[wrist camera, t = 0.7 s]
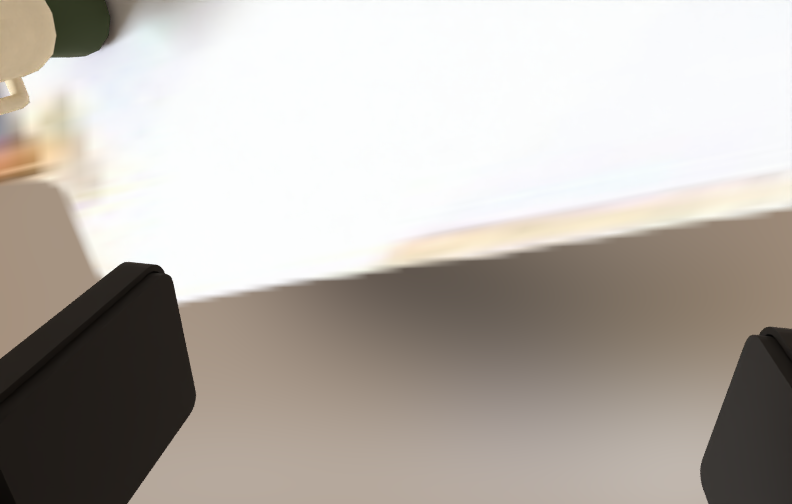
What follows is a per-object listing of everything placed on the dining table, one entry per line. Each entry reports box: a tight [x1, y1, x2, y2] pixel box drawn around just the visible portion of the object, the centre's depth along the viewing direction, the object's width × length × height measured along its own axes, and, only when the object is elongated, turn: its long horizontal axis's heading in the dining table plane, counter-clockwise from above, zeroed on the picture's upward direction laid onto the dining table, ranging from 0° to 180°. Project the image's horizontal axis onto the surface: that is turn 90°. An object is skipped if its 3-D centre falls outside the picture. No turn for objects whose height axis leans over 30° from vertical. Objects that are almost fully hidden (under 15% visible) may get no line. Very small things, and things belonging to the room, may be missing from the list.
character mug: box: [0, 0, 110, 115], centre depth 38 cm, size 11×7×13 cm, turn 7°
